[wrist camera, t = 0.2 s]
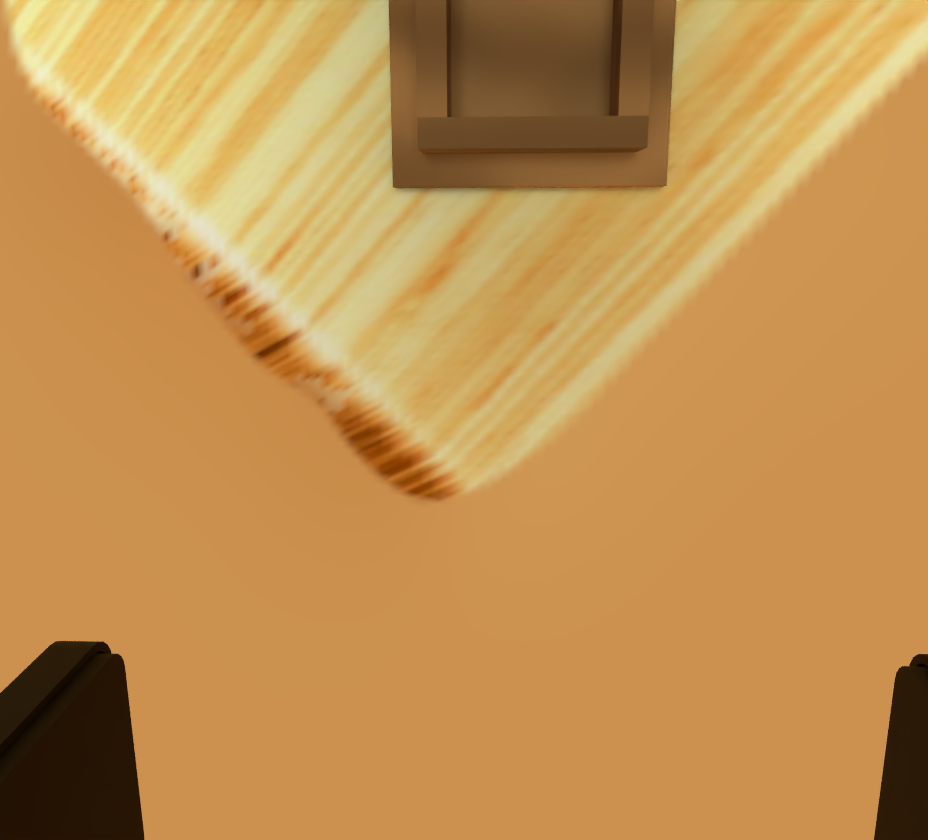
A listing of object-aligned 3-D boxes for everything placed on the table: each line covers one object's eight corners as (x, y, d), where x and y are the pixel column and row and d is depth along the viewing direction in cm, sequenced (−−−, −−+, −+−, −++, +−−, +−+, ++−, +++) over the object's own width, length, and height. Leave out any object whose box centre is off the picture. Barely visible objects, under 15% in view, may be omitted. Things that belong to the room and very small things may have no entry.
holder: (389, -107, 35) (375, -149, 31) (676, -112, 35) (700, -156, 31) (396, 187, 38) (384, 184, 34) (661, 186, 38) (680, 183, 34)
